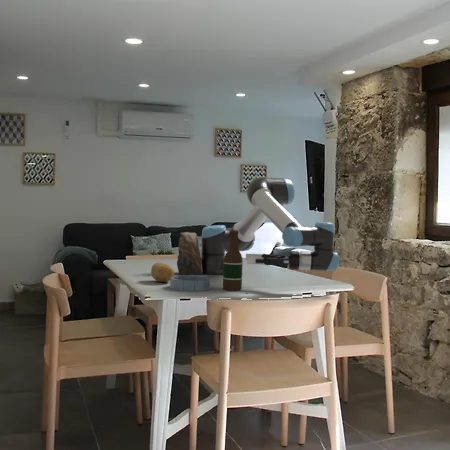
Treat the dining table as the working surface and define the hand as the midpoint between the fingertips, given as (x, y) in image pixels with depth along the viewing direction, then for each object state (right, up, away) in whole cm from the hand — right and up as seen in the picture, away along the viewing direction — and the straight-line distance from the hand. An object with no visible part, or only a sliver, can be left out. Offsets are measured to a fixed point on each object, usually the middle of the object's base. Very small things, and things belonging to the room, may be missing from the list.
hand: (246, 258), depth 231 cm
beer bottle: (-6, -13, +1) cm, 14 cm away
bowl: (-23, -12, +1) cm, 26 cm away
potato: (-35, -11, +16) cm, 40 cm away
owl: (-25, -10, +47) cm, 54 cm away
